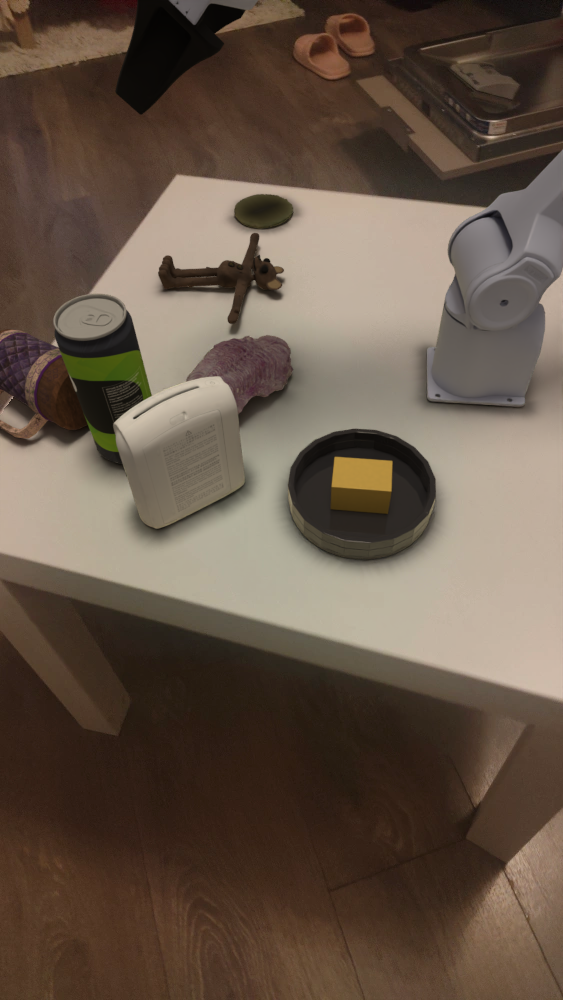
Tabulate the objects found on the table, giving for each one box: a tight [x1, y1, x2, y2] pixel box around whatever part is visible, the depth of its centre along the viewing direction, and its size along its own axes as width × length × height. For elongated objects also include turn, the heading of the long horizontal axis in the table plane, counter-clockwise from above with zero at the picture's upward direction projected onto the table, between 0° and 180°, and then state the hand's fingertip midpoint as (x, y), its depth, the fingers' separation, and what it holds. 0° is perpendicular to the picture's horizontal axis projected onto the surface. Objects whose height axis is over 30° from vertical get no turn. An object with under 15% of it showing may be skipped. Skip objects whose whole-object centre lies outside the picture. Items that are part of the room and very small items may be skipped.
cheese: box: [331, 457, 393, 514], centre depth 57 cm, size 5×3×3 cm
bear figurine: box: [157, 232, 285, 325], centre depth 78 cm, size 18×4×14 cm
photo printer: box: [113, 376, 246, 530], centre depth 55 cm, size 10×4×12 cm, turn 123°
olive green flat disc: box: [233, 193, 294, 229], centre depth 89 cm, size 8×8×1 cm
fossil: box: [185, 334, 294, 415], centre depth 66 cm, size 8×14×5 cm, turn 144°
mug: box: [0, 328, 88, 439], centre depth 65 cm, size 10×7×12 cm
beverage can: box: [52, 292, 153, 465], centre depth 58 cm, size 6×6×15 cm
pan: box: [287, 428, 437, 561], centre depth 58 cm, size 13×13×3 cm
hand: (143, 85), depth 46 cm, fingers open, 7 cm apart
